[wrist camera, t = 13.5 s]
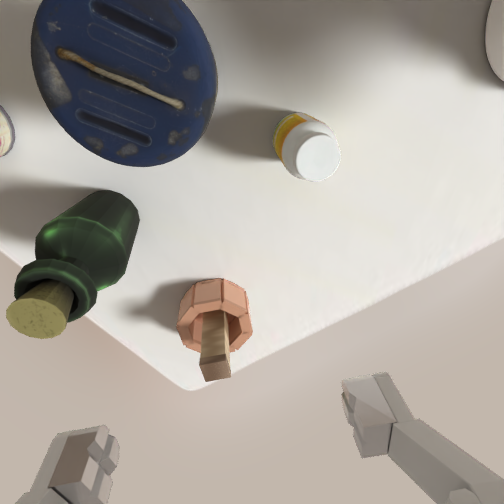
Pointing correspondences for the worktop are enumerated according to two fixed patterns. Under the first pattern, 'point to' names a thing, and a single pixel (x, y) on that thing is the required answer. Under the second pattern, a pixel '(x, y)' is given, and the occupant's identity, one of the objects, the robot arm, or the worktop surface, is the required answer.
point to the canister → (125, 76)
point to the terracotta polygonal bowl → (209, 299)
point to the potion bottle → (73, 264)
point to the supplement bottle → (306, 147)
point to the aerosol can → (6, 133)
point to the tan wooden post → (215, 346)
